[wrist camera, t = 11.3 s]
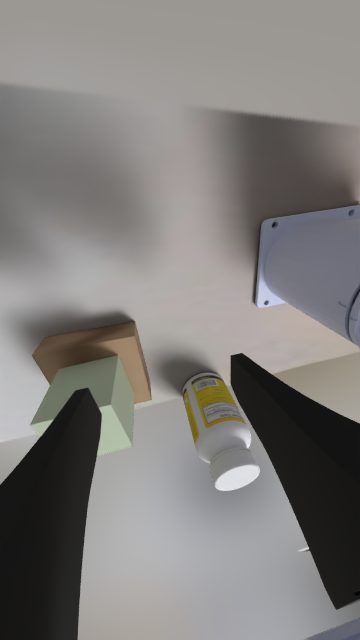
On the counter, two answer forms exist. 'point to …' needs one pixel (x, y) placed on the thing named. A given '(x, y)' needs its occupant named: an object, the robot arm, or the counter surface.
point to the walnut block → (97, 353)
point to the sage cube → (106, 390)
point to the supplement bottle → (219, 432)
